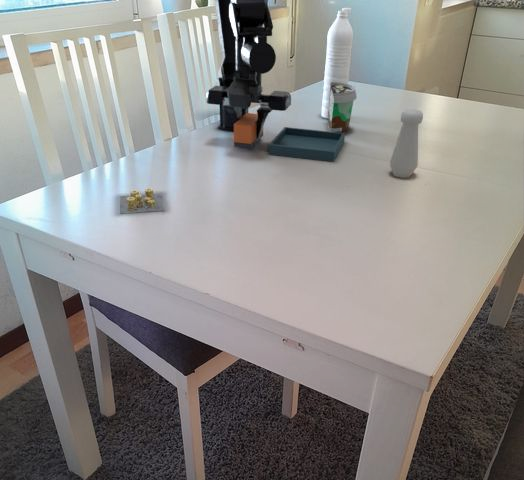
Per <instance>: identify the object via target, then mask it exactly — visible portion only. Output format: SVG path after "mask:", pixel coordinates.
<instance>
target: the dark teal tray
mask: <svg viewBox="0 0 524 480" xmlns="http://www.w3.org/2000/svg"><path fill="white" fill-rule="evenodd" d="M345 139H346V133H338V132H329V130H327V131H326V130H317V129H307V128H298V127H287V126H284V127H283V128H282V129H281V130H280V131H279V132H278V134H277V135H276V136H275V137H274V138H273V139H272V140H271V142H270V143H269V144H268V155H269V156H271V155H272V156H279V157H280V156H281V157H290V158H298V159H307V160H314V161H323V162H333V163H334V162H335V160H336V158H337V156H338V154H339V152H340V151H341V149H342V148H343V145H344V144H345Z"/></svg>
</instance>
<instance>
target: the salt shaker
mask: <svg viewBox="0 0 524 480" xmlns="http://www.w3.org/2000/svg"><path fill="white" fill-rule="evenodd" d="M423 119H424V113H423V112H422V110H420V109H417V108H406V109H404V110H403V111H402V112H401V114H400V122H401V123H402V125H401V127H400V131H399V134H398V136H397V140H396V142H395V146H394V148H393V151H392V153H391V154H392V155H391V157H390V161H389V166H390V169H391V174H392V175H393V177H397V178H402V179H403V178H405V179H406V178H411V176H412V175H413V174H414V172H415V171H416V169H418V167H419V166H418V165H419V125H420V124H422V122H423Z"/></svg>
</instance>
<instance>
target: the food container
mask: <svg viewBox="0 0 524 480" xmlns="http://www.w3.org/2000/svg"><path fill="white" fill-rule="evenodd" d="M357 98H358V97H357V91H356V86H354V85H352V84H349V83H348V84H344V83H337V82H331V85H330V99H329V112H328V119H327V127H328V131H329V132H338V133H345V134H347V133H348V131H349V128H350V122H351V117H352V110H353V106H354V101H355V100H357Z"/></svg>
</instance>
